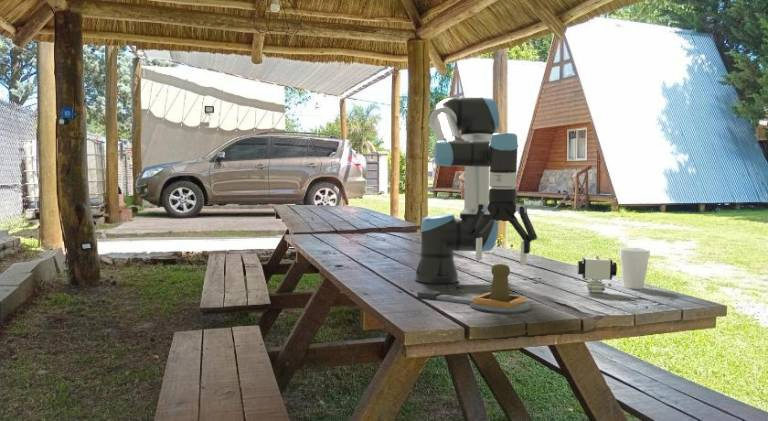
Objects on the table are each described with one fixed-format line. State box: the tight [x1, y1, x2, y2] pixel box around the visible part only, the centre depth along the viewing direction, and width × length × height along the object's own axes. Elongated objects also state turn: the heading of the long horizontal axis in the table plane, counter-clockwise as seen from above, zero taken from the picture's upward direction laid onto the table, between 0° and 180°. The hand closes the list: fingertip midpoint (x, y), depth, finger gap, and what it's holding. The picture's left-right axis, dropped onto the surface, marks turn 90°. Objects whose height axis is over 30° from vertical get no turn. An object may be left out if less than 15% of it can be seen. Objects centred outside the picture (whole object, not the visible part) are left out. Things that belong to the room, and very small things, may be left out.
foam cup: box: [619, 247, 651, 290], centre depth 214 cm, size 10×9×13 cm
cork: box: [490, 263, 511, 302], centre depth 179 cm, size 6×6×11 cm
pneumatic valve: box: [576, 255, 618, 294], centre depth 205 cm, size 6×12×12 cm, turn 78°
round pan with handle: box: [416, 289, 531, 315], centre depth 184 cm, size 34×17×3 cm, turn 56°
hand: (500, 262), depth 179 cm, fingers open, 13 cm apart
